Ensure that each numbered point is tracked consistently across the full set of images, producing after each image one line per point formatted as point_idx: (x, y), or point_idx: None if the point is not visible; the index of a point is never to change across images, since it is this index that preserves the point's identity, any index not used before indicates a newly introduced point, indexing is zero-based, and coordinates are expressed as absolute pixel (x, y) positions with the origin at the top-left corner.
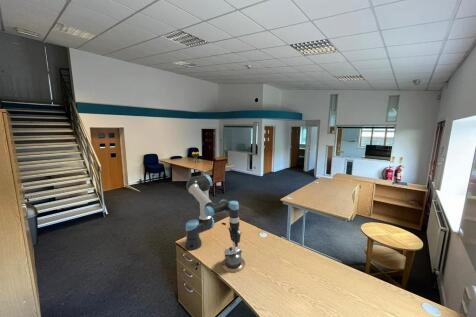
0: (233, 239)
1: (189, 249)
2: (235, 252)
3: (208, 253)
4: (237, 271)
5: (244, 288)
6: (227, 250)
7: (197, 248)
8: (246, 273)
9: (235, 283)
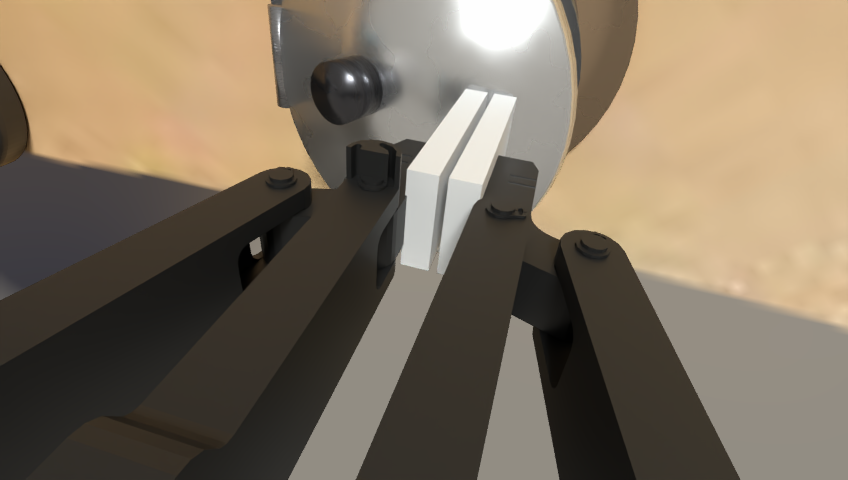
0: (369, 313)
1: (12, 161)
2: (540, 201)
3: (134, 82)
4: (598, 119)
5: (800, 257)
6: (324, 120)
7: (17, 102)
8: (725, 64)
9: (669, 251)
